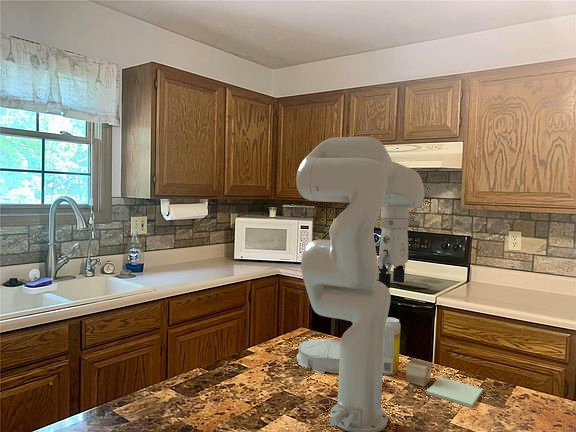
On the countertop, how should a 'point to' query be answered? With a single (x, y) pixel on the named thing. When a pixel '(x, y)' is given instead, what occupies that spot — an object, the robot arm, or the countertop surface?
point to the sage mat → (455, 392)
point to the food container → (320, 355)
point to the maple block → (418, 372)
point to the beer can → (391, 346)
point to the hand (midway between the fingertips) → (391, 284)
